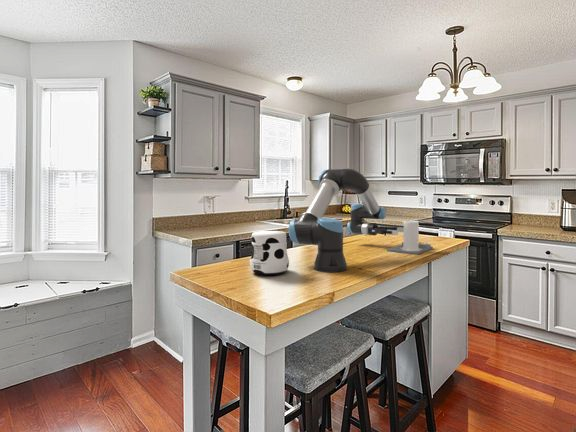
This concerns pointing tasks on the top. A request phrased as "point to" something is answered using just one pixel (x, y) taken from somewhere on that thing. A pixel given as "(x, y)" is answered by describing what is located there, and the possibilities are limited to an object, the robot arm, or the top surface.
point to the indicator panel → (421, 249)
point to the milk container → (269, 252)
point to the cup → (411, 235)
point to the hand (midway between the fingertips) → (402, 231)
